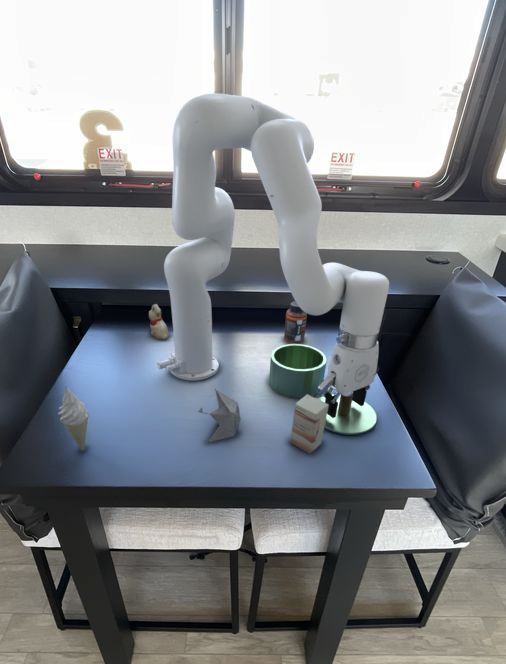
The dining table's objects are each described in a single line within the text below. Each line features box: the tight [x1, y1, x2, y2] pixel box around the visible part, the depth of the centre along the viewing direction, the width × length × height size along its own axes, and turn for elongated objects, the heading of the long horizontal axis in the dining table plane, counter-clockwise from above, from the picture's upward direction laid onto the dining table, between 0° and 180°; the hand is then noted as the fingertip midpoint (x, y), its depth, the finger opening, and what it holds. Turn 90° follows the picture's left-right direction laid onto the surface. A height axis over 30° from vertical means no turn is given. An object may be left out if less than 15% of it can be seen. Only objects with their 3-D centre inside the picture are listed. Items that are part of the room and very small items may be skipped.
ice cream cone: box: [57, 386, 90, 452], centre depth 77 cm, size 5×5×15 cm
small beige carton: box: [289, 394, 329, 454], centre depth 82 cm, size 5×4×10 cm
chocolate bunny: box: [148, 303, 170, 341], centre depth 122 cm, size 6×8×10 cm
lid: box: [317, 392, 378, 436], centre depth 91 cm, size 14×14×6 cm
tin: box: [268, 343, 328, 399], centre depth 101 cm, size 13×13×8 cm
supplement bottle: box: [283, 301, 308, 344], centre depth 120 cm, size 6×6×11 cm
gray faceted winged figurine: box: [197, 388, 241, 443], centre depth 87 cm, size 12×6×9 cm
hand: (343, 408), depth 91 cm, fingers open, 7 cm apart
